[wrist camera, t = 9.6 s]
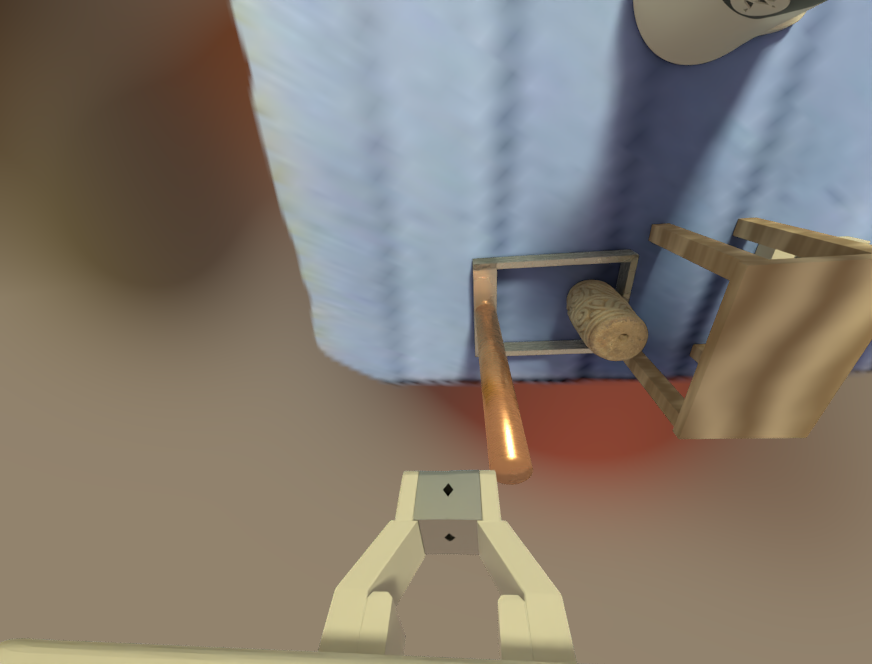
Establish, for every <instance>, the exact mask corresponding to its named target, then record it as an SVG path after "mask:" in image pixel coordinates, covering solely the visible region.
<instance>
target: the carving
mask: <svg viewBox="0 0 872 664" xmlns="http://www.w3.org/2000/svg"><path fill="white" fill-rule="evenodd" d="M567 310H568V312H567V314H568V316H569V319H570V321H571V322H572V324H573V326H574V327H575V329H576V330H577V332H578V333H579V335H580V337H581V338H582V340H583V341H584V343H585V344H586V346H587V347H588V348H589V349H590V350H591V351H592V352H593V353H594V354H596V355H598V356H599V357H602V358H604V359H607V360H611V361H622V360H627V359H630V358H633V357H634V356H636V355H637V354H638V353H639V352H641V351H642V350H643V348H644V346H645V344H646V342H647V339H648V330H647V327H646V325H645V323H644V322H643V321H642V320H641V319H640V318H639V317H638V316H637V315H636V313H635V311H633V309H632V308H631V307H630V305H629V304H628V303H627V301H626V300H625V299H624V298H623V297H621V295H620V294H619V293H618V292H617V291H616V290H615V289H614V288H612V287H611V286H610V285H608V284H607V283H605V282H603V281H599V280H584V281H581V282H579V283H577V284H576V285H574V286H573V287H572V288H571V289H570V291H569V293H568V296H567Z"/></svg>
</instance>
